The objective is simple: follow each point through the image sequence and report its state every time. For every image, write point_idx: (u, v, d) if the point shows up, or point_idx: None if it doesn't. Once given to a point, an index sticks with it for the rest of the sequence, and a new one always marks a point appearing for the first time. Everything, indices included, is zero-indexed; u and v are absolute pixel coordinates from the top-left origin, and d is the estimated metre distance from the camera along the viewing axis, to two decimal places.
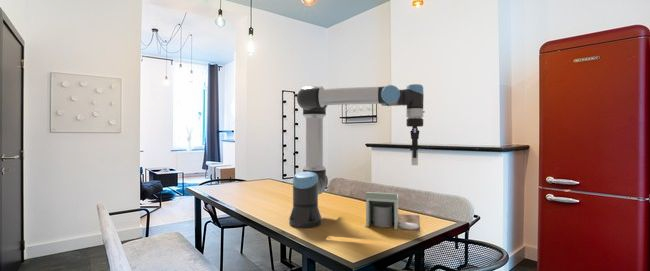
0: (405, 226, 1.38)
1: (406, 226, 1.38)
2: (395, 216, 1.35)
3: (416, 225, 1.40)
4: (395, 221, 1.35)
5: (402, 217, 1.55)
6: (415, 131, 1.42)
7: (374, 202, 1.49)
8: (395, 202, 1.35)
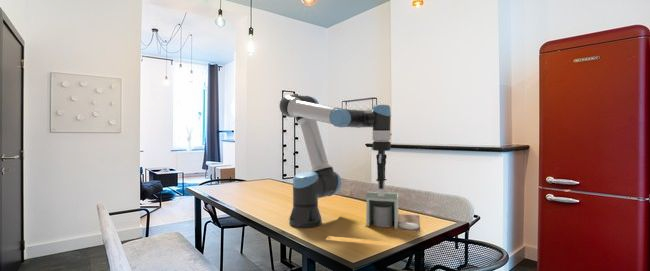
0: (405, 226, 1.38)
1: (406, 226, 1.38)
2: (395, 215, 1.36)
3: (416, 225, 1.40)
4: (395, 220, 1.36)
5: (402, 217, 1.55)
6: (380, 162, 1.31)
7: (374, 202, 1.50)
8: (395, 202, 1.36)
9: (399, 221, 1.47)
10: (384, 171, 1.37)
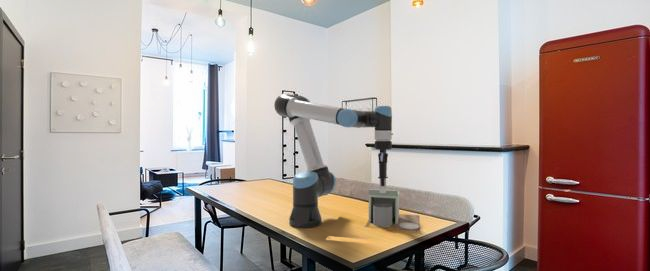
0: (405, 226, 1.38)
1: (406, 226, 1.38)
2: (396, 211, 1.43)
3: (416, 225, 1.40)
4: (396, 216, 1.43)
5: (402, 217, 1.55)
6: (382, 160, 1.38)
7: (376, 199, 1.57)
8: (396, 198, 1.43)
9: (399, 221, 1.47)
10: None
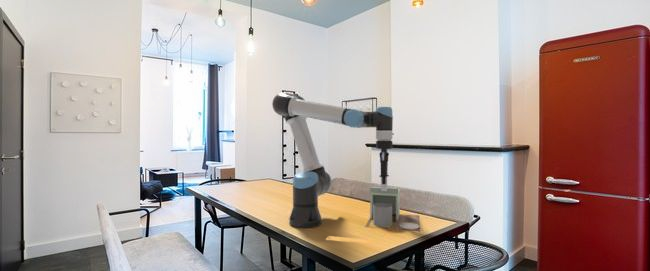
0: (405, 226, 1.38)
1: (406, 226, 1.38)
2: (397, 209, 1.48)
3: (416, 225, 1.40)
4: (397, 213, 1.48)
5: (402, 217, 1.55)
6: (383, 159, 1.43)
7: (377, 196, 1.62)
8: (397, 196, 1.48)
9: (399, 221, 1.47)
10: None
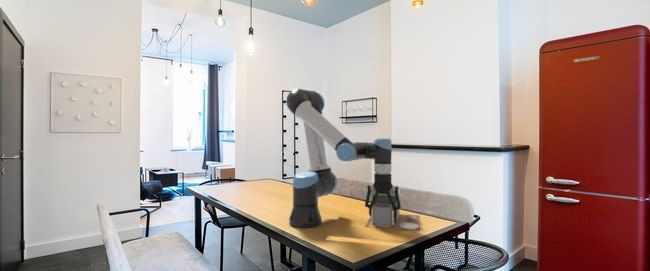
0: (405, 226, 1.38)
1: (406, 226, 1.38)
2: (397, 209, 1.48)
3: (416, 225, 1.40)
4: (397, 213, 1.48)
5: (402, 217, 1.55)
6: None
7: (377, 196, 1.62)
8: None
9: (399, 221, 1.47)
10: (391, 202, 1.41)
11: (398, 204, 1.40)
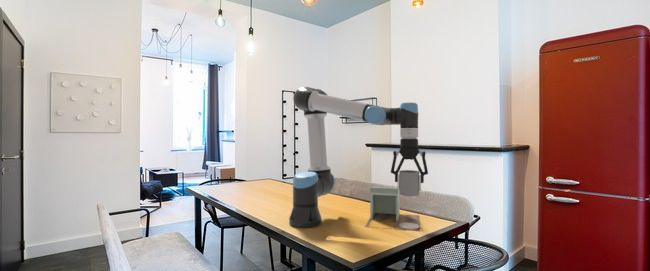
0: (405, 226, 1.38)
1: (406, 226, 1.38)
2: (397, 209, 1.48)
3: (416, 225, 1.40)
4: (397, 213, 1.48)
5: (402, 217, 1.55)
6: (393, 154, 1.41)
7: (377, 196, 1.62)
8: (397, 196, 1.48)
9: (399, 221, 1.47)
10: (418, 167, 1.37)
11: (425, 169, 1.36)
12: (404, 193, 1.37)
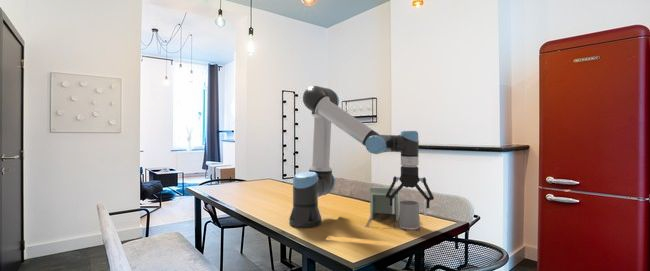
0: None
1: None
2: (397, 209, 1.48)
3: None
4: (397, 213, 1.48)
5: None
6: (393, 179, 1.41)
7: (377, 196, 1.62)
8: (397, 196, 1.48)
9: None
10: (422, 193, 1.37)
11: (430, 195, 1.36)
12: (404, 225, 1.37)
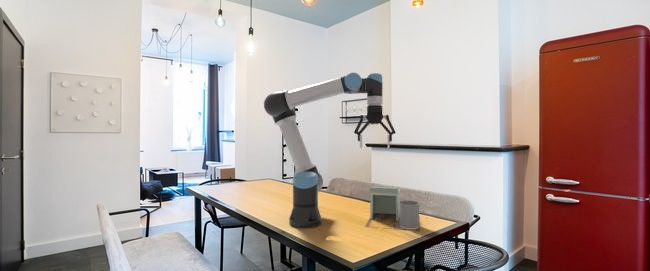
0: None
1: None
2: (397, 209, 1.48)
3: None
4: (397, 213, 1.48)
5: None
6: None
7: (377, 196, 1.62)
8: (397, 196, 1.48)
9: None
10: (385, 128, 1.56)
11: (392, 129, 1.55)
12: (404, 225, 1.37)
